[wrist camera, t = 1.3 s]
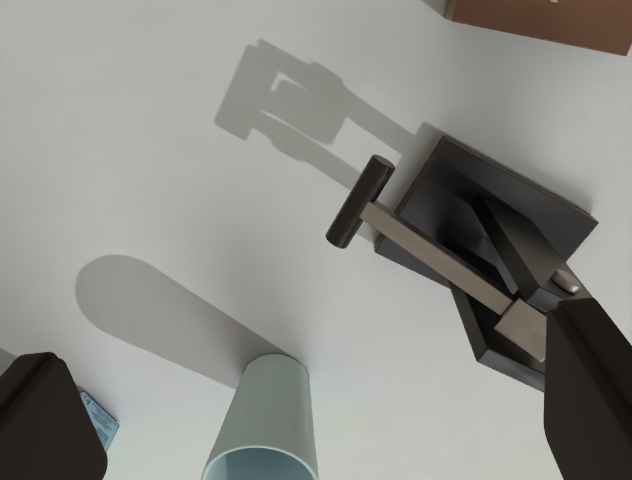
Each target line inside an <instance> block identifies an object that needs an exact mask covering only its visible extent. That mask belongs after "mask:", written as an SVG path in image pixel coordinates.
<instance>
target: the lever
mask: <svg viewBox="0 0 632 480" xmlns="http://www.w3.org/2000/svg"><path fill="white" fill-rule="evenodd" d="M394 170H395V166H394V165H393V164H392V163H391V162H390V161H388V160H387V159H385V158H383V157H381V156H379V155H372V157H371V158H370V160H369V162H368V163H367V165H366V167H365V169H364V170H363V172H362V174H361V175H360V177H359V179H358V180H357V182H356V184H355V186H354V187H353V189H352V191H351V192H350V194H349V196H348V197H347V199H346V201H345V203H344V204H343V206H342V208H341V209H340V211H339V213H338V214H337V216H336V218H335V219H334V221H333V223H332V225H331V226H330V228H329V230H328V231H327V233H326V239H327V240H328V241H329V242H330V243H331V244H333V245H334V246H336V247H338V248H342V249H344V248H346V247H347V246H348V245H349V243H350V241H351V240H352V238H353V237H354V235H355V233H356V232H357V230H358V229H359V227H360V225H361V224H362V222H363V220H364V221H365V222H367V223H368V224H369V225H371V226H372V227H374V228H375V229H377V230H378V231H379V232H381V233H382V234H384V235H385V236H387V237H388V238H389V239H391V240H392V241H394V242H395V243H397V244H398V245H399V246H401V247H402V248H404V249H405V250H407V251H408V252H410V253H411V254H412V255H414V256H415V257H417V258H418V259H420V260H421V261H422V262H424V263H425V264H427V265H428V266H430V267H431V268H432V269H434V270H435V271H437V272H438V273H440V274H441V275H442V276H444V277H445V278H447V279H448V280H450V281H451V282H452V283H454V284H455V285H457V286H458V287H460V288H461V289H462V290H464V291H465V292H467V293H468V294H470V295H471V296H472V297H474V298H475V299H477V300H478V301H480V302H481V303H483V304H484V305H485V306H487V307H488V308H490V309H491V310H493V311H494V312H495V313H497V314H498V317H497V320H496V323H495V327H494V330H496V331H497V332H498V333H500V334H501V335H503V336H504V337H505V338H507V339H508V340H510V341H511V342H513V343H514V344H515V345H517V346H518V347H520V348H521V349H522V350H524V351H525V352H527V353H528V354H530V355H531V356H532V357H534V358H535V359H537V360H538V361H539V362H543V361H544V360H545V353H546V318H547V312H545V311H543V310H541V309H539V308H537V307H535V306H533V305H531V304H529V303H527V302H526V301H525V299H524V297H523V296H522V294H521V292H520V290H519V289H518V290H517V291H516V292H515V293H514V294H513V293H511V292H510V291H508V290H507V289H505V288H504V287H502V286H501V285H500V284H498V283H497V282H495V281H494V280H492V279H491V278H489V277H488V276H486V275H485V274H483V273H482V272H481V271H479V270H478V269H476V268H475V267H473V266H472V265H470V264H469V263H467V262H466V261H464V260H463V259H462V258H460V257H459V256H457V255H456V254H454V253H453V252H451V251H450V250H448V249H447V248H445V247H444V246H442V245H441V244H440V243H438V242H437V241H435V240H434V239H432V238H431V237H429V236H428V235H426V234H425V233H423V232H422V231H421V230H419V229H418V228H416V227H415V226H413V225H412V224H410V223H409V222H407V221H406V220H404V219H403V218H402V217H400V216H399V215H397V214H396V213H394V212H393V211H391V210H390V209H388V208H387V207H385V206H384V205H383V204H381V203H380V202H378V201H377V200H376V199H377V198H378V196H379V195H380V193H381V191H382V190H383V188H384V186H385V185H386V183H387V182H388V180H389V178H390V177H391V175H392V173H393V172H394Z"/></svg>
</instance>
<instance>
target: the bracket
mask: <svg viewBox="0 0 632 480" xmlns="http://www.w3.org/2000/svg"><path fill="white" fill-rule="evenodd" d="M394 213H396V214H397V215H399V216H400V217H402V218H403V219H404V220H406V221H407V222H409V223H410V224H412V225H413V226H415V227H416V228H418V229H419V230H421V231H422V232H423V233H425V234H426V235H428V236H429V237H431V238H432V239H434V240H435V241H437V242H438V243H440V244H441V245H442V246H444V247H445V248H447V249H448V250H450V251H451V252H453V253H454V254H456V255H457V256H459V257H460V258H462V259H463V260H464V261H466V262H467V263H469V264H470V265H472V266H473V267H475V268H476V269H478V270H479V271H481V272H482V273H483V274H485V275H486V276H488V277H489V278H491V279H492V280H494V281H495V282H497V283H498V284H500V285H501V286H502V287H504V288H505V289H507V290H508V291H510V292H511V293H513V294H514V293H515V292H516V291H517V290H518V289H519V290H520V292H521V294H522V296H523V297H524V299H525V301H526V302H527V303H529V304H531V305H533V306H535V307H537V308H539V309H541V310H543V311H545V312H548V310H553V309H556V308H557V304H558V302H559V301H561V300H571V299H581V298H593V297H592V295H591V294H590V293H589V292H588V290H587V289H586V288H585V287H584V285H583V284H582V283H581V282H580V280H579V279H578V278H577V277H576V275H575V274H574V273H573V272H572V270H571V269H570V268H569V266H568V265H567V264H566V261H567V260H568V259H569V258H570V257H571V255H572V254H573V253H574V252H575V251H576V249H577V248H578V247H579V246H580V245H581V244H582V242H583V241H584V240H585V239H586V238H587V236H588V235H589V234H590V233H591V232H592V231H593V229H594V228H595V227H596V226H597V225H598V223H599V222H598V221H597V220H596V219H594V218H593V217H592V216H591V215H589V214H588V213H586V212H584V211H582V210H580V209H578V208H577V207H575V206H573V205H571V204H569V203H567V202H565V201H564V200H562V199H560V198H558V197H556V196H554V195H553V194H551V193H549V192H547V191H545V190H543V189H542V188H540V187H538V186H536V185H534V184H532V183H531V182H529V181H527V180H525V179H523V178H521V177H520V176H518V175H516V174H514V173H512V172H510V171H509V170H507V169H505V168H503V167H501V166H499V165H497V164H496V163H494V162H492V161H490V160H488V159H486V158H485V157H483V156H481V155H479V154H477V153H475V152H474V151H472V150H470V149H468V148H466V147H464V146H463V145H461V144H459V143H457V142H455V141H453V140H452V139H450V138H448V137H446V136H443V137H442V139H441V140H440V142H439V144H438V145H437V147H436V148H435V150H434V151H433V153H432V154H431V156H430V158H429V159H428V161H427V162H426V164H425V165H424V167H423V168H422V170H421V172H420V173H419V175H418V176H417V178H416V179H415V181H414V182H413V184H412V186H411V187H410V189H409V190H408V192H407V193H406V195H405V196H404V198H403V200H402V201H401V203H400V204H399V206H398V207H397V209H396V211H395V212H394ZM374 250H375V253H378V254H380V255H382V256H384V257H386V258H388V259H390V260H392V261H394V262H396V263H398V264H400V265H402V266H404V267H406V268H408V269H410V270H413V271H415V272H417V273H419V274H421V275H423V276H425V277H427V278H429V279H431V280H433V281H435V282H437V283H439V284H441V285H443V286H446V287H448V288H450V289H451V292H452V295H453V298H454V300H455V303H456V306H457V309H458V311H459V314H460V317H461V320H462V322H463V325H464V328H465V331H466V333H467V336H468V339H469V342H470V344H471V347H472V350H473V353H474V356H475V358H476V361H477V362H479V363H481V364H483V365H485V366H488V367H490V368H492V369H494V370H496V371H498V372H501V373H503V374H505V375H507V376H509V377H511V378H514V379H516V380H518V381H520V382H522V383H524V384H527V385H529V386H531V387H533V388H535V389H537V390H540V391H542V392H544V389H545V360H544V361H543V362H539V361H538V360H537V359H535V358H534V357H532V356H531V355H530V354H528V353H527V352H525V351H524V350H522V349H521V348H520V347H518V346H517V345H515V344H514V343H513V342H511V341H510V340H508V339H507V338H505V337H504V336H503V335H501V334H500V333H498V332H497V331H496V330H494V327H495V323H496V320H497V317H498V314H497V313H495V312H494V311H493V310H491V309H490V308H488V307H487V306H485V305H484V304H483V303H481V302H480V301H478V300H477V299H475V298H474V297H472V296H471V295H470V294H468V293H467V292H465V291H464V290H462V289H461V288H460V287H458V286H457V285H455V284H454V283H452V282H451V281H450V280H448V279H447V278H445V277H444V276H442V275H441V274H440V273H438V272H437V271H435V270H434V269H432V268H431V267H430V266H428V265H427V264H425V263H424V262H422V261H421V260H420V259H418V258H417V257H415V256H414V255H412V254H411V253H410V252H408V251H407V250H405V249H404V248H402V247H401V246H399V245H398V244H397V243H395V242H394V241H392V240H391V239H389V238H388V237H387V236H385V235H384V234H382V233H381V234H380V235H379V237H378V239H377V240H376V242H375V243H374Z"/></svg>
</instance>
